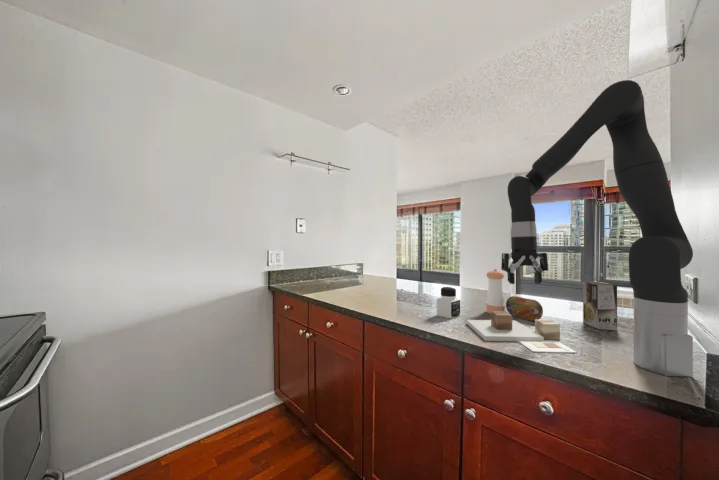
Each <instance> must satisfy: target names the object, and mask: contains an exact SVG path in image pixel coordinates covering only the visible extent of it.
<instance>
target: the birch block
mask: <svg viewBox="0 0 719 480" xmlns="http://www.w3.org/2000/svg"><path fill="white" fill-rule="evenodd" d="M534 332H536V333H538V334H539V335H541V336H543V337H544V340H561V324H560V323H558V322H556V321H554V320H552V319H539V320H534Z"/></svg>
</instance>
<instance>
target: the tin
mask: <svg viewBox="0 0 719 480" xmlns="http://www.w3.org/2000/svg"><path fill="white" fill-rule="evenodd" d="M505 309H506V310H507V311H506V312H507V313H509V314H511V315H512V317H515V318H519V319H522V320H526V321H529V322H535V320H541V319H542V317H543V315H544V314H543V313H544V309H543V306H542V303H540V302H539V301H538V300H536V299H531V298H527V297H521V296H509V297H508V298H507V300H506V302H505Z"/></svg>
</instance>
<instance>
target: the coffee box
mask: <svg viewBox="0 0 719 480" xmlns="http://www.w3.org/2000/svg"><path fill="white" fill-rule="evenodd" d="M582 295H583V296H582V302H583V303H582V306H583V307H582V308H583V309H582V310H583V311H582V312H583V314H582V316H583V320H582V321H583V323H584V324H586V325H587V326H590V327H592V328H594V329H597V330H606V331H608V330H609V331H618V284H614V283H611V282H610V283H609V282H604V281H594V280H593V281H582Z"/></svg>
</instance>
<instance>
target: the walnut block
mask: <svg viewBox="0 0 719 480" xmlns="http://www.w3.org/2000/svg"><path fill="white" fill-rule="evenodd" d="M490 320H491V326H493V327H494V328H495V329H497V330H512V320H513V316H512V315H511V314H509V312H508V311H506V310H505V311H491V314H490Z"/></svg>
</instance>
